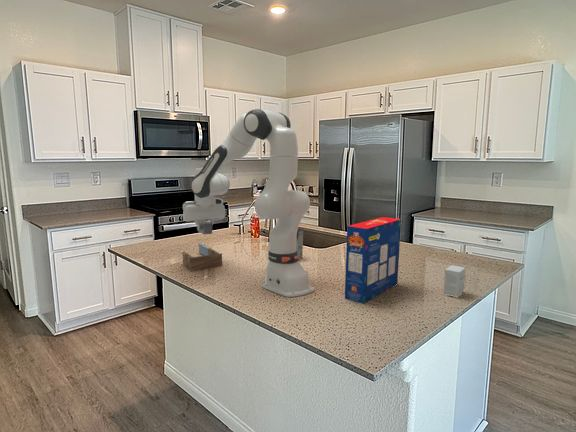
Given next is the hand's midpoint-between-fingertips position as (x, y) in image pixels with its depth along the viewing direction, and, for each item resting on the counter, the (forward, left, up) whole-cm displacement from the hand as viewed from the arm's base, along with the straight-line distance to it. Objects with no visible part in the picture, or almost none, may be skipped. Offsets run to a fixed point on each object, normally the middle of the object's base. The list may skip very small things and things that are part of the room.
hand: (204, 229), depth 184 cm
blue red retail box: (-69, -43, -18) cm, 84 cm away
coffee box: (-13, -42, -18) cm, 48 cm away
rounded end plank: (+14, -5, -17) cm, 23 cm away
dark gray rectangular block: (0, 0, -2) cm, 2 cm away
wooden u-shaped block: (+1, +2, -18) cm, 18 cm away
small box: (-88, -68, -18) cm, 113 cm away
